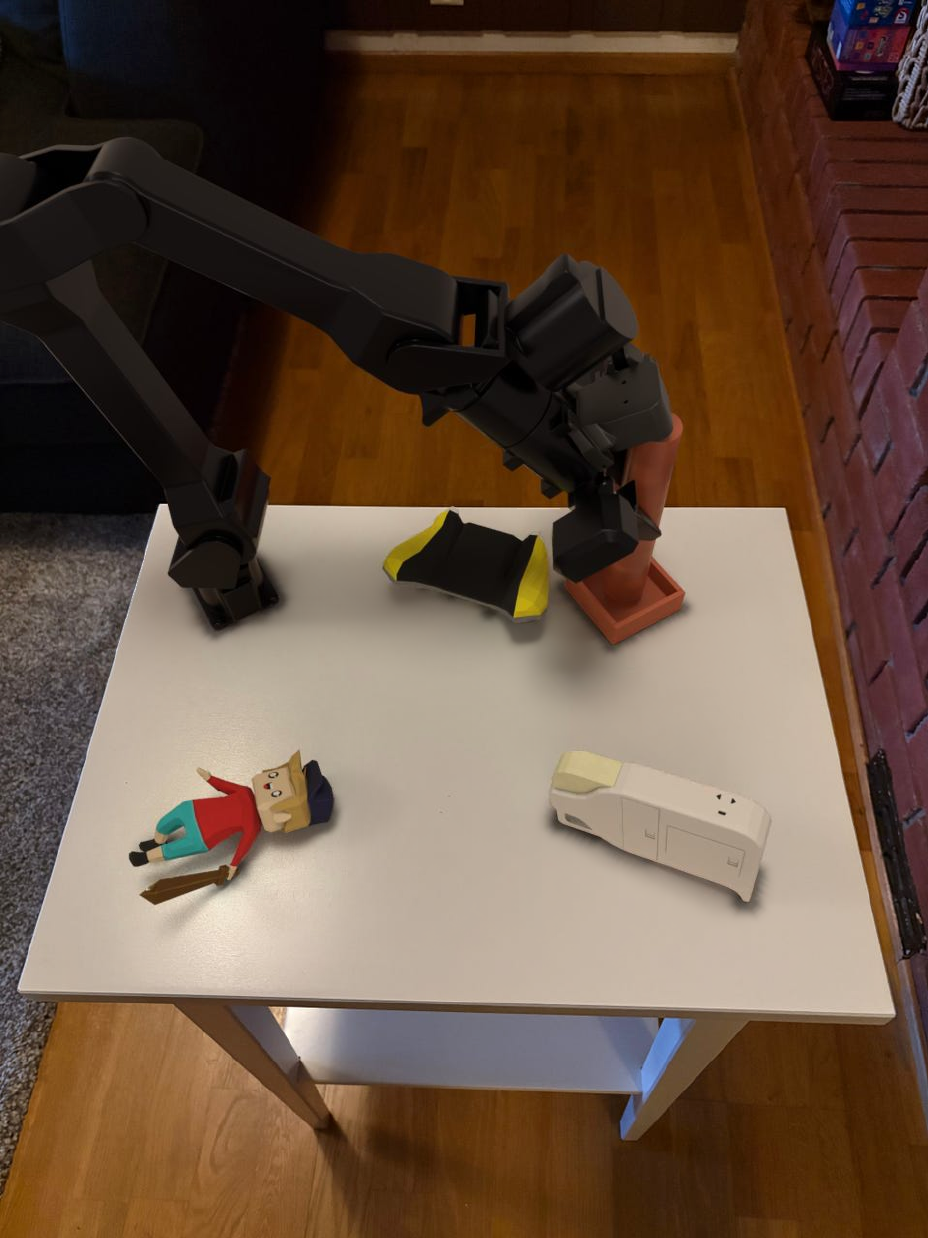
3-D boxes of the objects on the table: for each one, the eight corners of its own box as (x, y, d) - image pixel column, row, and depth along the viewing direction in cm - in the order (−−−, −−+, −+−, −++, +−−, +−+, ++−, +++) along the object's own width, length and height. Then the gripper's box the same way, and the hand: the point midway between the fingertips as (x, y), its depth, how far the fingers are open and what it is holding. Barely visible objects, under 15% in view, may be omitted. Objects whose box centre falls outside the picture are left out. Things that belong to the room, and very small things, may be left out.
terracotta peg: (603, 601, 76) (632, 441, 61) (603, 569, 79) (631, 406, 63) (644, 603, 76) (684, 443, 61) (643, 571, 78) (681, 408, 63)
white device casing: (566, 805, 70) (757, 869, 64) (554, 836, 68) (748, 904, 63) (556, 734, 61) (776, 801, 56) (542, 768, 60) (766, 840, 54)
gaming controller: (534, 652, 76) (571, 568, 81) (537, 616, 71) (575, 529, 76) (379, 602, 79) (423, 524, 84) (372, 564, 75) (420, 485, 80)
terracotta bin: (564, 586, 80) (566, 570, 78) (630, 553, 82) (634, 536, 80) (612, 645, 76) (615, 629, 74) (680, 608, 78) (685, 592, 76)
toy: (111, 786, 63) (312, 722, 66) (138, 826, 68) (324, 765, 71) (126, 904, 57) (345, 827, 60) (154, 938, 62) (356, 866, 65)
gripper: (622, 447, 51) (763, 566, 60) (604, 261, 62) (725, 385, 70) (488, 533, 58) (632, 629, 66) (492, 352, 68) (616, 455, 77)
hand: (654, 518), depth 70 cm, fingers closed on terracotta peg, 3 cm apart
